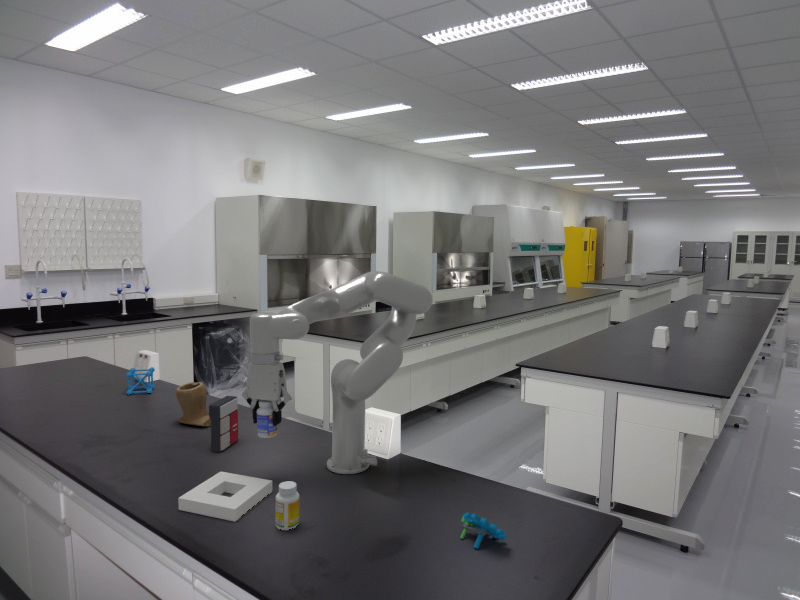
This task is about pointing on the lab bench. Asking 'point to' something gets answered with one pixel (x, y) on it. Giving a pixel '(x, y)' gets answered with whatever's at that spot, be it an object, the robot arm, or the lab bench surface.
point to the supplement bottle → (287, 506)
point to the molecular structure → (140, 380)
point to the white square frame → (229, 508)
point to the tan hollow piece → (193, 404)
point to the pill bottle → (265, 420)
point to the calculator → (223, 423)
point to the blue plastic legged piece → (484, 528)
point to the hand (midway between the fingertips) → (267, 422)
